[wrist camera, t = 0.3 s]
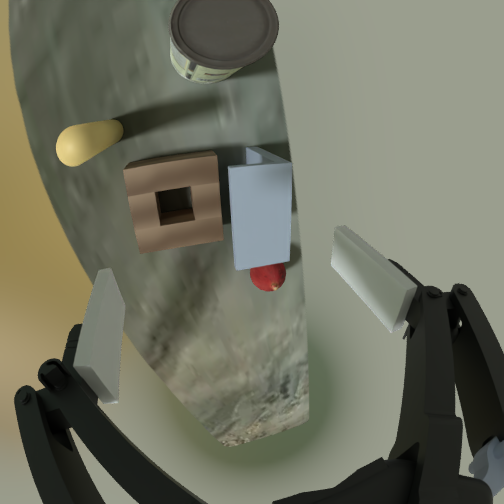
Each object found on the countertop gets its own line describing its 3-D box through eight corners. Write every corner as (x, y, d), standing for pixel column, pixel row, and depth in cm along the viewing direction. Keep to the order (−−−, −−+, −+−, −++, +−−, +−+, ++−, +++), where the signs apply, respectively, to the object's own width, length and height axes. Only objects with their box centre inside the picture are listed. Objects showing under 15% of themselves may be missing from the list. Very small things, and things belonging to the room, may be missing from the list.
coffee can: (224, 11, 27) (251, -30, 15) (255, 66, 33) (296, 48, 21) (157, 39, 27) (150, 4, 15) (189, 96, 33) (198, 87, 21)
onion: (272, 242, 47) (290, 266, 41) (280, 267, 51) (297, 293, 44) (240, 255, 47) (253, 282, 40) (251, 280, 50) (264, 308, 43)
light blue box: (211, 150, 37) (229, 167, 26) (256, 146, 39) (292, 163, 28) (217, 226, 43) (236, 270, 32) (258, 220, 45) (289, 261, 34)
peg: (98, 122, 30) (53, 131, 17) (122, 117, 31) (89, 120, 18) (101, 146, 32) (59, 170, 19) (124, 141, 33) (95, 161, 20)
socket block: (129, 162, 35) (123, 169, 30) (211, 150, 37) (217, 155, 33) (143, 238, 41) (140, 253, 36) (217, 226, 43) (223, 240, 39)
